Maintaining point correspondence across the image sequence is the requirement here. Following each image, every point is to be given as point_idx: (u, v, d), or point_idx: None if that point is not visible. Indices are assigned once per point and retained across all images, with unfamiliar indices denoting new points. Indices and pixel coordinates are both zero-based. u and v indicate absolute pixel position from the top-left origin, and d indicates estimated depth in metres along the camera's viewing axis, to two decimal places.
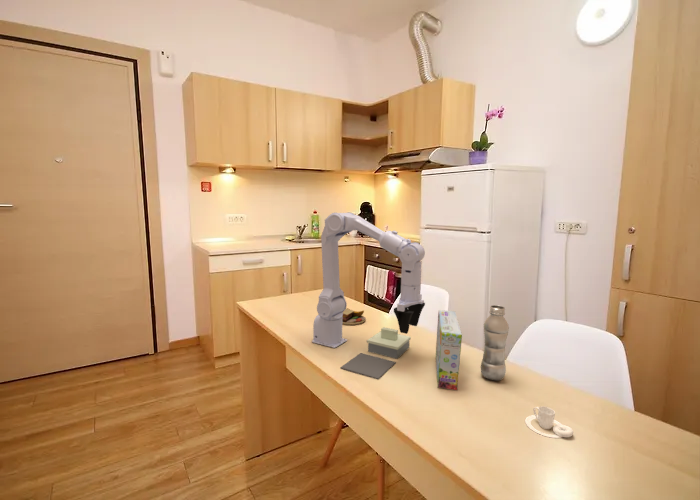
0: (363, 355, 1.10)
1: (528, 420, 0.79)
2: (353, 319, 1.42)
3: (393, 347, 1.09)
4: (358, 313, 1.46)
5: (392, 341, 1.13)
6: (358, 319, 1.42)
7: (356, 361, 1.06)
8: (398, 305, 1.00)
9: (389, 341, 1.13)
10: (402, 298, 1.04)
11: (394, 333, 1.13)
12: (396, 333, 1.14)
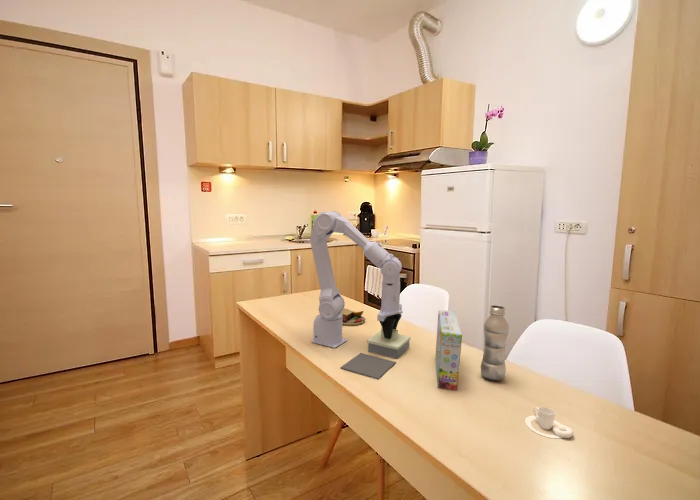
0: (363, 355, 1.10)
1: (528, 420, 0.79)
2: (353, 319, 1.41)
3: (393, 347, 1.09)
4: (357, 313, 1.46)
5: (392, 341, 1.13)
6: (358, 319, 1.41)
7: (356, 361, 1.06)
8: (378, 315, 1.09)
9: (389, 341, 1.13)
10: (382, 309, 1.13)
11: (394, 333, 1.13)
12: (396, 333, 1.14)
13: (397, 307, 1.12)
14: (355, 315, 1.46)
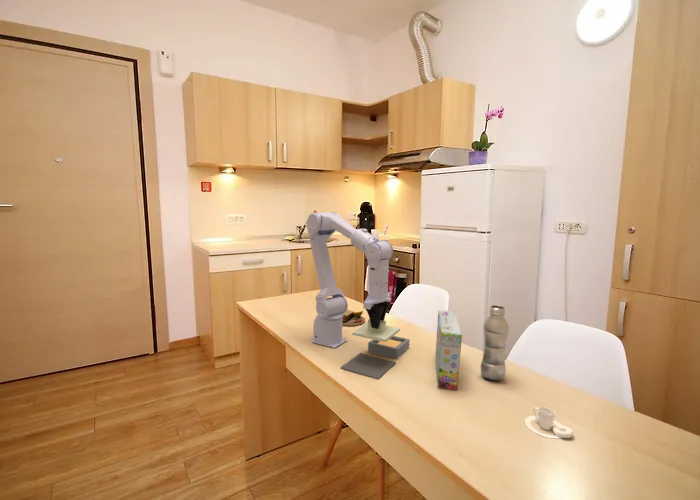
0: (363, 355, 1.10)
1: (527, 421, 0.79)
2: (353, 320, 1.41)
3: (380, 339, 1.01)
4: (357, 314, 1.45)
5: (379, 333, 1.04)
6: (358, 320, 1.41)
7: (356, 361, 1.06)
8: (365, 303, 1.00)
9: (376, 333, 1.04)
10: (369, 296, 1.04)
11: (382, 324, 1.05)
12: (384, 324, 1.05)
13: (385, 294, 1.04)
14: (355, 315, 1.46)
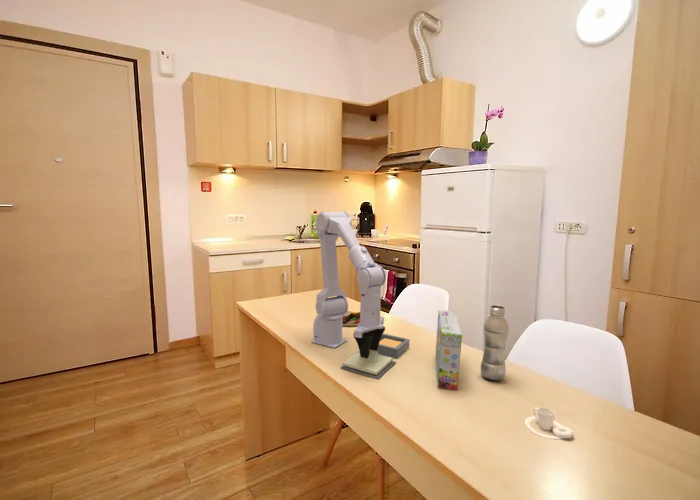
0: None
1: (527, 421, 0.78)
2: (352, 320, 1.40)
3: (371, 372, 0.98)
4: (356, 314, 1.45)
5: (371, 364, 1.01)
6: (357, 320, 1.40)
7: None
8: (355, 331, 0.97)
9: (368, 364, 1.01)
10: (361, 323, 1.01)
11: (373, 355, 1.02)
12: (376, 355, 1.02)
13: (377, 321, 1.00)
14: (354, 316, 1.45)
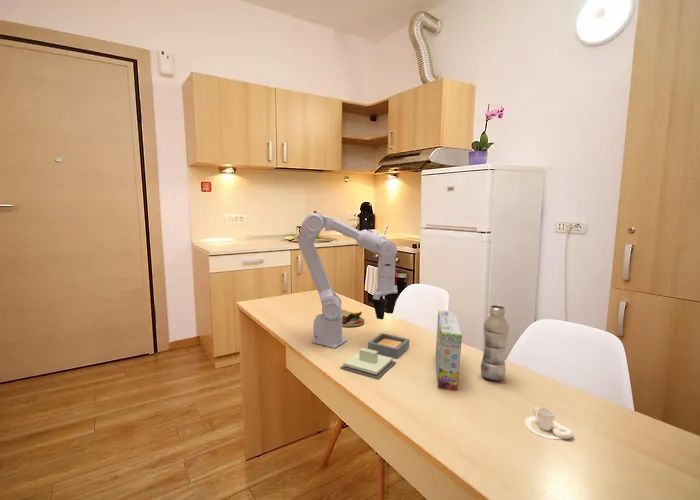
0: None
1: (527, 421, 0.78)
2: (352, 321, 1.40)
3: (371, 372, 0.98)
4: (356, 314, 1.44)
5: (371, 364, 1.01)
6: (357, 320, 1.40)
7: None
8: (374, 294, 1.14)
9: (368, 364, 1.01)
10: (378, 288, 1.18)
11: (373, 355, 1.02)
12: (376, 355, 1.02)
13: (392, 287, 1.18)
14: (353, 316, 1.45)
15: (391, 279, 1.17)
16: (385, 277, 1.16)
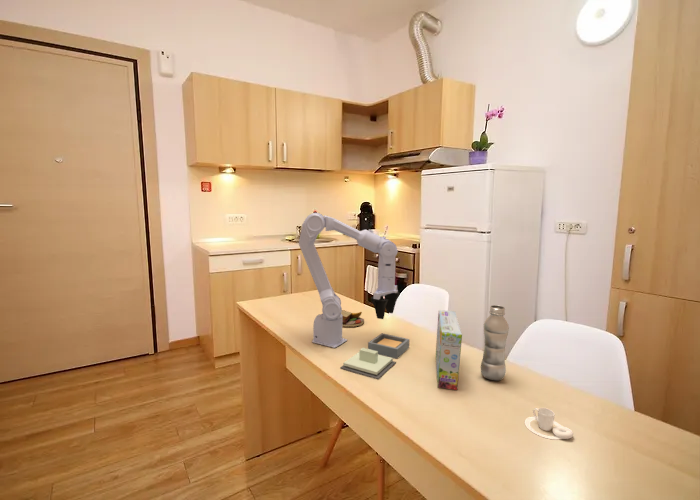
0: None
1: (527, 421, 0.78)
2: (352, 321, 1.39)
3: (371, 372, 0.98)
4: (356, 315, 1.44)
5: (371, 364, 1.01)
6: (357, 321, 1.40)
7: None
8: (375, 294, 1.14)
9: (368, 364, 1.01)
10: (378, 288, 1.19)
11: (373, 355, 1.02)
12: (376, 355, 1.02)
13: (392, 286, 1.18)
14: (353, 316, 1.45)
15: (391, 279, 1.17)
16: (385, 277, 1.17)
